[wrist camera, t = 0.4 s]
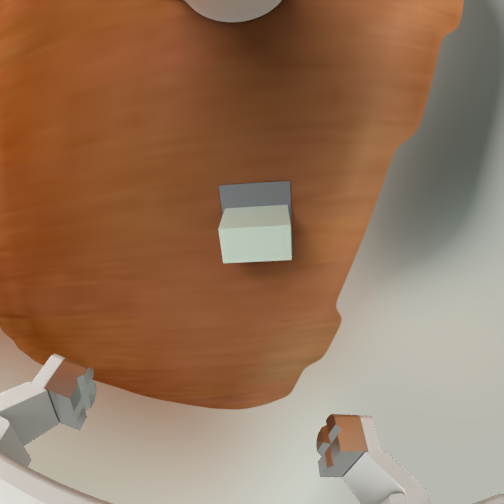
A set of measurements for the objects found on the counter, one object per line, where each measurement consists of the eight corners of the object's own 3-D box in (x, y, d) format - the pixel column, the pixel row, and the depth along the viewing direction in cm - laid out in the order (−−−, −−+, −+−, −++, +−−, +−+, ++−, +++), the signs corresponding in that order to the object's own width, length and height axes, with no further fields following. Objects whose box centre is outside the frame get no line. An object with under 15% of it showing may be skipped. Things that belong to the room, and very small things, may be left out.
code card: (218, 185, 45) (218, 185, 45) (289, 180, 44) (290, 181, 44) (228, 258, 51) (228, 259, 51) (292, 255, 50) (292, 256, 50)
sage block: (225, 208, 46) (218, 229, 40) (287, 204, 46) (290, 224, 40) (229, 239, 49) (223, 263, 43) (288, 236, 48) (291, 259, 42)
